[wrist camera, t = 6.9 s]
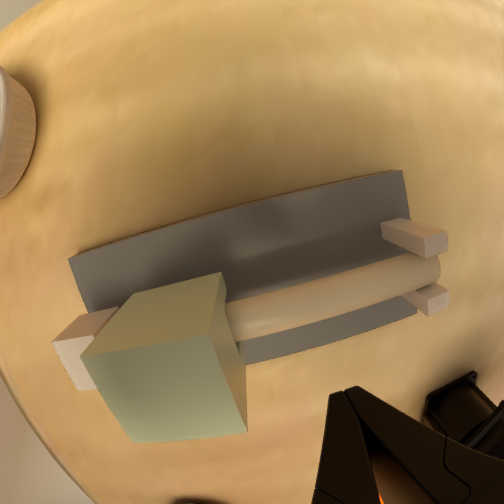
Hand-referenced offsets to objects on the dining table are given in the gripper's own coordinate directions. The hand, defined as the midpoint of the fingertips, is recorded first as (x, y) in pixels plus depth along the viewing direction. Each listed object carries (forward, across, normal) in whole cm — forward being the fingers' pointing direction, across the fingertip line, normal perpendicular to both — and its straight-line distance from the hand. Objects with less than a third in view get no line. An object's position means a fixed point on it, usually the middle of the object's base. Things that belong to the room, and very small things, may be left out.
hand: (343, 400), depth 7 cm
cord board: (+12, +2, 0) cm, 13 cm away
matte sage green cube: (+8, +6, 0) cm, 10 cm away
